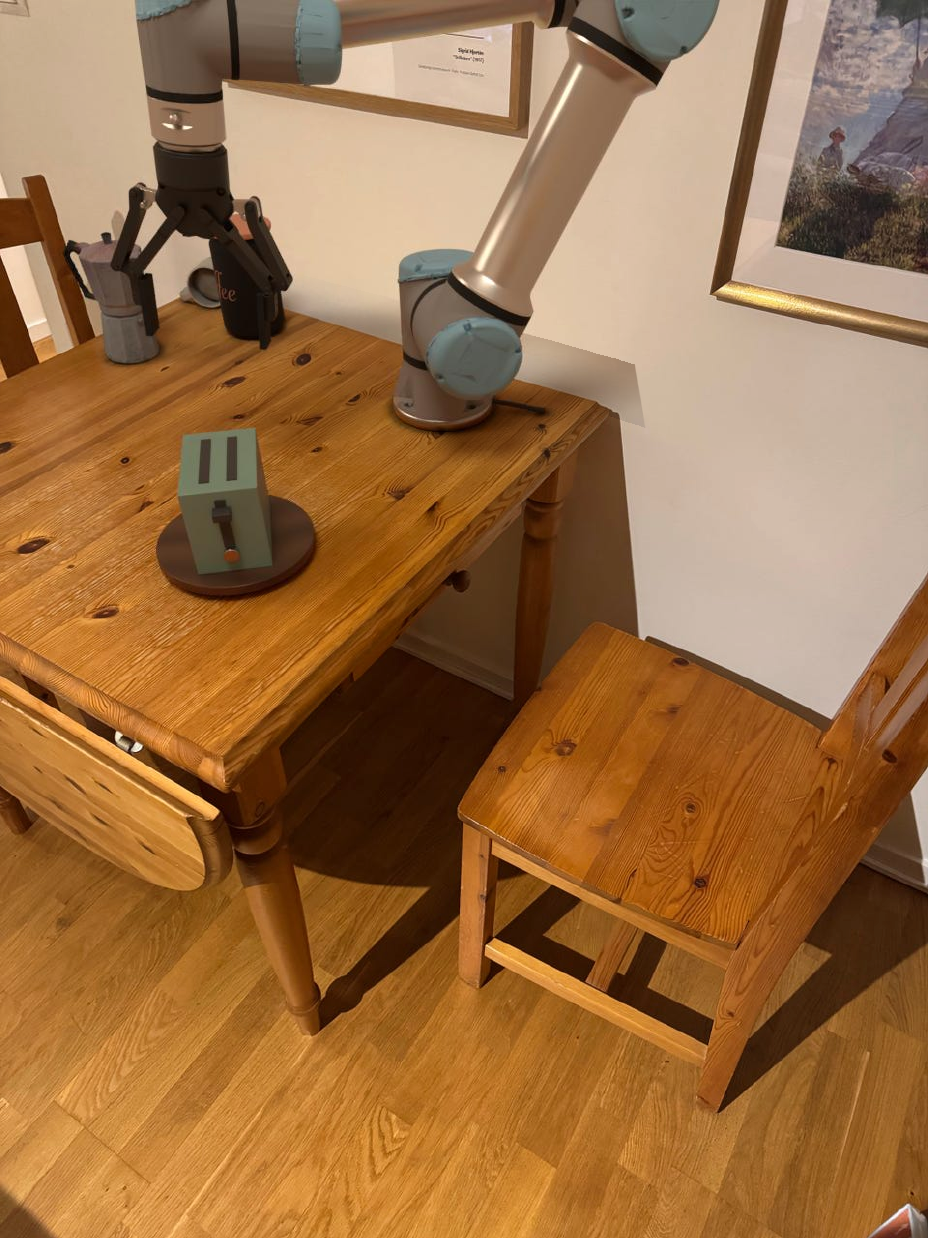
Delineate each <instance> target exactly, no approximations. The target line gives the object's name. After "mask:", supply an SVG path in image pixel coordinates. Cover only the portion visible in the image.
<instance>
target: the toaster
mask: <svg viewBox="0 0 928 1238" xmlns="http://www.w3.org/2000/svg"><path fill="white" fill-rule="evenodd" d="M262 459H263V458H262V455H261V449H260V444H259V438H258V433H257V428H256V427H249V428H247V427H246V428H237V429H227V430H217V431H208V432H198V433H197V432H196V433H195V432H194V433H187V434H182V440H181V450H180V459H179V460H180V461H179V473H178V484H177V495H176V497H177V501H178V504H179V507H180V511H181V513H179V514H178V515H176V516H175V517H174V518H172V519H171V520H170V521H169V522H168V523H167V524H166V526H165V527H164V528H163V530H162V531H161V532H160V534H159V536H158V538H157V540H156V546H155V556H156V559H157V563H158V566H159V568H160V570H161V572H162V573H163V575H164V576H165V577H166V579H168V580H169V581H170V582H171V583H173V584H174V585H176V586H178V587H179V588H182V589H184V590H187V591H189V592H192V593H196V594H201V595H206V596H207V595H208V596H209V595H210V596H235V595H243V594H248V593H249V594H250V593H253V592H257V591H260V590H264V589H266V588H269V587H272V586H274V585H276V584H278V583H281V582H283V581H285V580H286V579H288V578H289V577H291V576H293V574H295V573H296V572H298V570H300V569H301V568H302V567H303V566H304V565H305V564H306V562H307V561H308V560H309V558H310V557H311V555H312V553H313V551H314V549H315V545H316V532H315V525H314V522H313V520H312V518H311V516H310V515H309V514H308V512H307V511H306V510H304V508H302V507H301V506H300V505H298V504H297V503H295V502H293V501H291V500H289V499H286V498H284V497H280V496H276V495H273V494H269V491H268V486H267V481H266V475H265V470H264V464H263V460H262Z"/></svg>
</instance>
